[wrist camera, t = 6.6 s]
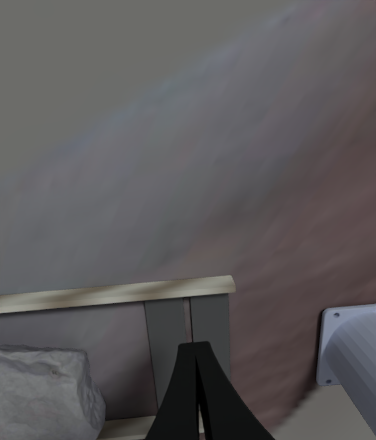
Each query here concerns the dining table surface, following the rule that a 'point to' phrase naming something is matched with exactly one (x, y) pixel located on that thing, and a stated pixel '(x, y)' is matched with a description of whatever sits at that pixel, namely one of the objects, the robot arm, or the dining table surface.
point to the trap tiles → (175, 332)
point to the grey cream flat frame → (133, 427)
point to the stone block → (48, 395)
